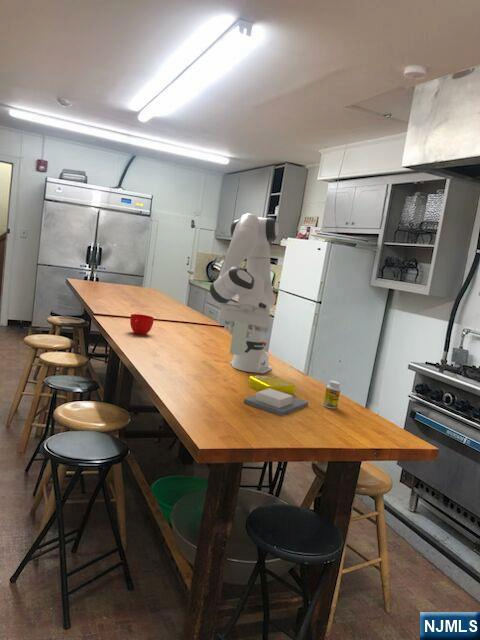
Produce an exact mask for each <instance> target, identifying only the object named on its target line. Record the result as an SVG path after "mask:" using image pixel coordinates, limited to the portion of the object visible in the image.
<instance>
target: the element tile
mask: <svg viewBox="0 0 480 640" xmlns="http://www.w3.org/2000/svg"><path fill="white" fill-rule="evenodd" d="M247 385H248V387H250V388H252V389H254V390H256V391H257V392H259V391H262V390H266V389H269V388H270V389H273V390H276V391H280V392H283V393H286V394H289V395H292V396H293V395H295V391H296V385H295V384H294V383H292V382H290V381H287V380H285V379H283V378H282V377H281V378H280V377H278V376H276V375H250V376H249V379H248V383H247Z"/></svg>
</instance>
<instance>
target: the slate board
mask: <svg viewBox="0 0 480 640" xmlns="http://www.w3.org/2000/svg"><path fill="white" fill-rule="evenodd" d="M243 403H244V404H247V405H249V406H252V407H255V408H258V409H260V410H264V411H267V412H269V413H272V414H275V415H277V416H281V417H283V416H285V415H288V414H291V413H293V412H296V411H298V410H300V409H302V408H306V407H308V406H309V401H306V400H303V399H301V398H298V397H294V396H293V395H289V394H286V393H283V392H280V391H276V390H273V389H270V388H269V389H266V390H262V391H257V392H256V394H255V395H253V396H250V397H246V398H244V400H243Z"/></svg>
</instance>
